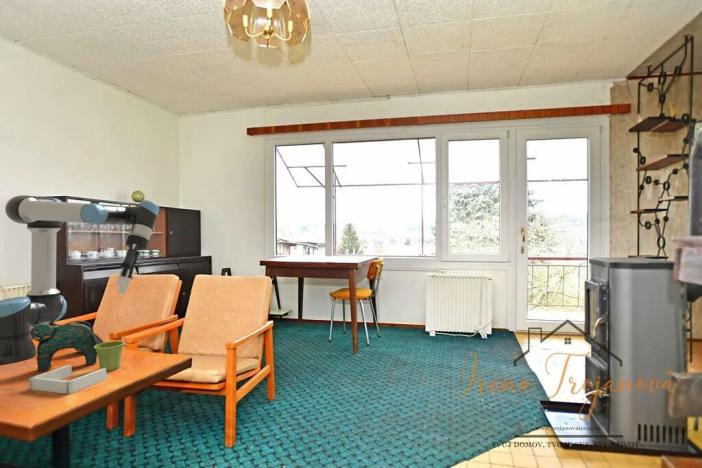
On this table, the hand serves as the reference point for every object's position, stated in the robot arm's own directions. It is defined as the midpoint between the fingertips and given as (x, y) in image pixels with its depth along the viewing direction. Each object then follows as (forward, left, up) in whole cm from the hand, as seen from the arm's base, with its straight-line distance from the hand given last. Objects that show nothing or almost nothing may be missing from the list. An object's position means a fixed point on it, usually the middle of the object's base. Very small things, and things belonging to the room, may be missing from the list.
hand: (120, 289), depth 156 cm
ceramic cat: (-17, -8, -28) cm, 33 cm away
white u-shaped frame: (+1, -21, -27) cm, 35 cm away
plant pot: (+1, -6, -27) cm, 28 cm away
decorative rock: (-27, +9, -28) cm, 40 cm away
